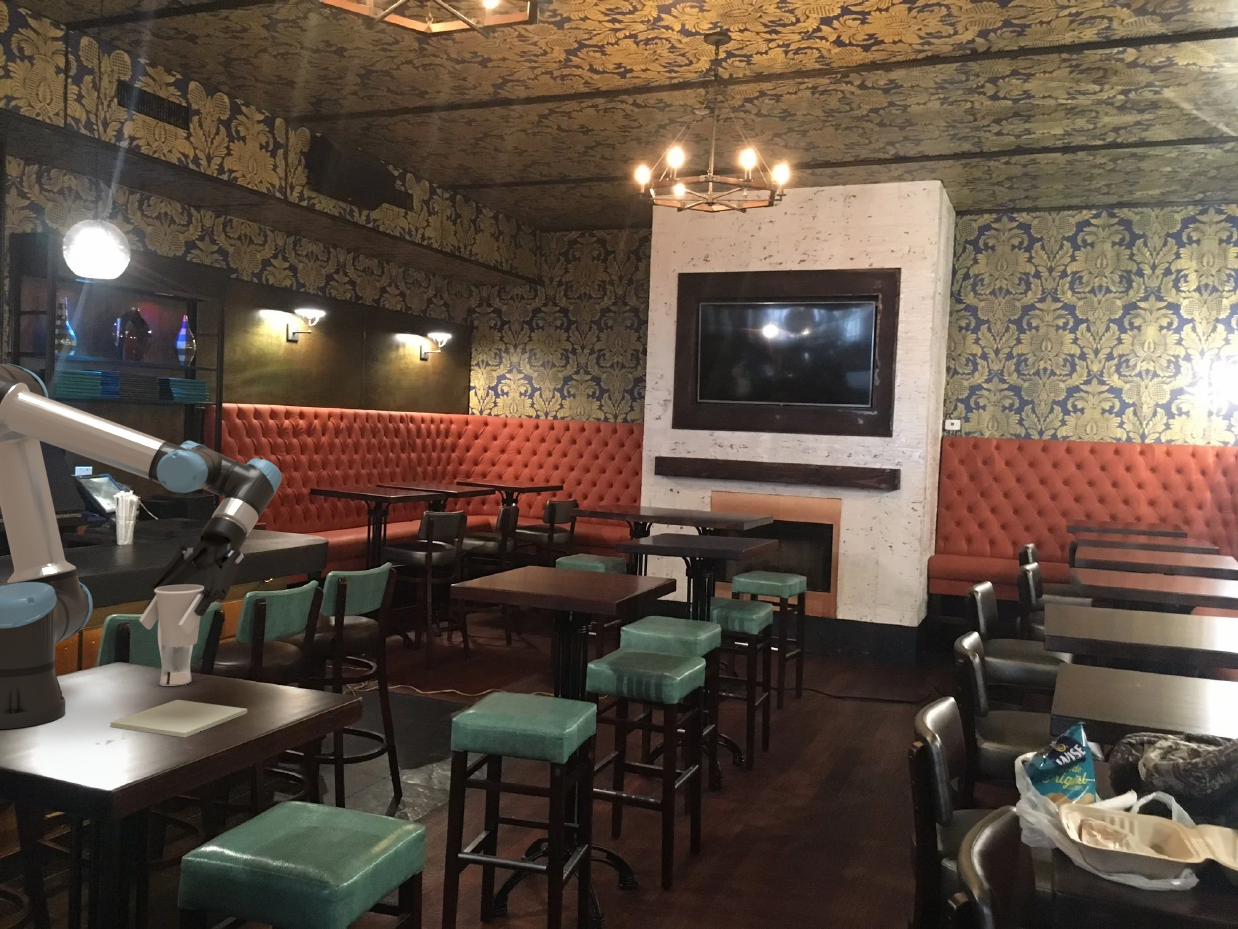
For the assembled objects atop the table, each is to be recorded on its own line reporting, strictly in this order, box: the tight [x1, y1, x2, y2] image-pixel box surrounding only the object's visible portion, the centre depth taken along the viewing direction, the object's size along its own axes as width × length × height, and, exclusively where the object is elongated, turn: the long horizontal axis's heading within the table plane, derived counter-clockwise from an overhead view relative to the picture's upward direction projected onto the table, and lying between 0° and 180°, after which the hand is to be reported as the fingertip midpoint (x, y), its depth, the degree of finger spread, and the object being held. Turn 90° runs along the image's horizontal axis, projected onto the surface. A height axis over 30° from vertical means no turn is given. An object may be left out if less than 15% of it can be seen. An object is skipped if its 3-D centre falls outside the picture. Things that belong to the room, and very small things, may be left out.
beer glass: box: [157, 620, 194, 687], centre depth 203 cm, size 7×7×15 cm
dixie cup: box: [153, 583, 204, 647], centre depth 177 cm, size 8×8×10 cm
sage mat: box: [109, 699, 248, 738], centre depth 179 cm, size 16×16×1 cm
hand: (164, 626), depth 174 cm, fingers closed on dixie cup, 8 cm apart
